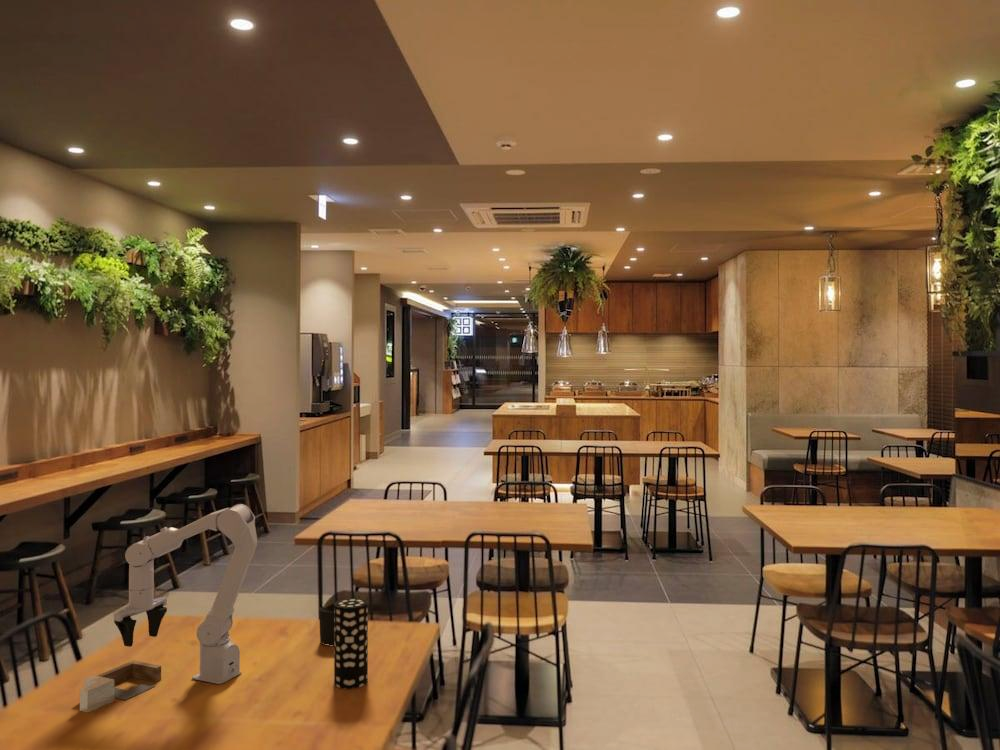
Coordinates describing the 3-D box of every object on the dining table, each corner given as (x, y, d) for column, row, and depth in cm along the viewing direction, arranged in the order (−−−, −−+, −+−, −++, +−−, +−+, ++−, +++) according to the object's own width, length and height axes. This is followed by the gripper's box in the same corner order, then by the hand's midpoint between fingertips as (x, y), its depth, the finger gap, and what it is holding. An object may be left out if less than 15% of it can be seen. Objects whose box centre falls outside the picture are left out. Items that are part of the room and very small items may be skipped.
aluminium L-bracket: (114, 700, 170) (114, 679, 170) (87, 712, 164) (87, 691, 164) (93, 695, 173) (93, 675, 173) (66, 707, 166) (66, 686, 166)
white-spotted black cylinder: (353, 672, 186) (353, 596, 187) (374, 681, 181) (374, 602, 181) (327, 683, 180) (327, 603, 180) (348, 692, 175) (348, 610, 175)
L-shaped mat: (154, 686, 178) (154, 685, 178) (125, 700, 170) (125, 699, 170) (130, 681, 181) (130, 680, 181) (100, 694, 173) (100, 693, 173)
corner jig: (161, 679, 182) (161, 665, 182) (125, 696, 172) (125, 681, 172) (133, 673, 186) (133, 660, 186) (97, 689, 176) (97, 675, 176)
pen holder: (352, 645, 206) (352, 610, 206) (318, 648, 204) (318, 613, 204) (351, 634, 215) (351, 601, 216) (319, 637, 213) (319, 603, 213)
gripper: (153, 579, 192) (152, 629, 192) (105, 593, 179) (104, 648, 178) (172, 582, 189) (172, 633, 189) (125, 596, 176) (125, 652, 176)
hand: (140, 640), depth 184 cm, fingers open, 7 cm apart
